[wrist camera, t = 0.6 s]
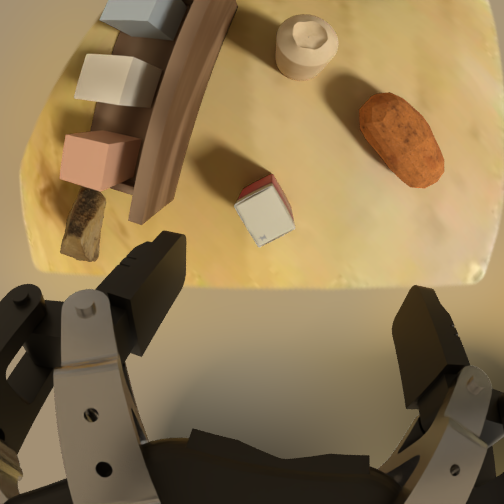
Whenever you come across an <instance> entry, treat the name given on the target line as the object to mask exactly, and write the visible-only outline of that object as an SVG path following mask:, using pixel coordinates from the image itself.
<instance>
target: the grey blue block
mask: <svg viewBox="0 0 504 504" xmlns="http://www.w3.org/2000/svg"><path fill="white" fill-rule="evenodd" d="M186 9H187V6H186V5H185V4H184V2H183V1H182V0H108V2H107V4H106V6H105V8H104V11H103V13H102V15H101V17H100V21H102V22H104V23H106V24H108V25H110V26H112V27H114V28H116V29H118V30H120V31H122V32H124V33H126V34H128V35H130V36H131V37H144V38H154V39H163V40H171V41H173V40H174V38H175V35H176V33H177V30H178V28H179V25H180V23H181V21H182V18H183V16H184V14H185V12H186Z"/></svg>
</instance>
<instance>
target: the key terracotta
mask: <svg viewBox="0 0 504 504" xmlns="http://www.w3.org/2000/svg"><path fill="white" fill-rule="evenodd" d="M141 141H142V139H139V138H135V137H131V136H127V135H122V134H118V133H113V132H109V131H104V130H100V131H91V132H82V133H74V134H67V135H66V137H65V143H64V149H63V155H62V162H61V170H60V179H62V180H65V181H68V182H71V183H75V184H78V185H81V186H84V187H87V188H91V189H94V190H97V191H100V192H101V191H103V190H105V189H108V188H110V187H112V186H114V185H117V184H119V183H121V182H123V181H126V180H128V179H130V178H133V176H134V171H135V167H136V162H137V158H138V153H139V149H140V145H141Z"/></svg>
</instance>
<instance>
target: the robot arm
mask: <svg viewBox="0 0 504 504" xmlns="http://www.w3.org/2000/svg"><path fill="white" fill-rule="evenodd" d="M185 276H186V236H185V235H184V234H179V233H174V232H169V231H162V232H161V233H160V234H159V235H158V236H157V237H156V239H155V240H154V241H153V242H148V241H147V242H145V243H143V244H141V245H139V246H137V247H135V248H134V249H133V250H132V251H131V252H130V253H129V254H128V255H127V257H126V258H124V259H123V260H122V261H121V262H120V265H117V266H116V267H115V269H114V270H113V271H112V272H111V273H110V274H109V275H108V276H107V277H106V278H105V279H104V280H103V281H102V283H101V284H100V285H99V286H98V287H97V288H96V289H95V290H93V289H86V290H81V291H78V292H75V293H74V294H72V295H70V296H69V297H68V298H67V299H66V300H65V302H61V301H49V300H44V298H43V295H42V293H41V290H40V289H39V288H38V287H37V286H35V285H33V284H24V285H21V286H18V287H16V288H14V289H12V290H11V291H10V292H9V293H8V294H7V295H6V296H5V297H4V298H3V299H2V300H1V301H0V504H504V472H503V473H502V474H501V475H500V476H497V477H496V472H495V462H494V455H493V447H492V445H493V444H494V443H496V442H497V441H498V440H500V439H501V438H502V437H504V393H503V392H500V391H497V390H494V389H492V386H491V382H490V380H489V378H488V376H487V375H486V374H485V373H484V372H483V371H482V370H481V369H479V368H478V367H475V366H470V363H469V361H468V358H467V355H466V353H465V350H464V347H463V345H462V342H461V340H460V337H458V333H457V330H456V328H454V323H453V321H452V319H451V316H450V315H449V313H448V312H447V311H446V310H445V309H444V307H443V306H442V305H441V304H440V302H439V299H438V297H437V295H436V293H435V291H434V290H433V289H431V288H426V287H422V286H417V285H414V286H412V287H411V289H410V291H409V292H408V294H407V296H406V298H405V300H404V302H403V304H402V306H401V307H400V309H399V311H398V313H397V315H396V317H395V319H394V321H393V326H392V335H393V340H394V344H395V349H396V354H397V359H398V364H399V369H400V375H401V380H402V386H403V392H404V398H405V405H406V409H419V413H420V414H419V415H418V416H416V417H415V419H414V420H413V422H412V423H411V425H410V427H409V428H408V430H407V431H406V433H405V435H404V436H403V438H402V439H401V441H400V443H399V444H398V446H397V447H396V448H395V450H394V452H393V453H392V454H391V456H390V457H389V458H388V459H387V460H386V462H385V463H383V464H382V466H380V467H379V468H378V469H376V468H373V467H370V466H369V455H368V456H367V455H340V454H326V455H319V456H312V457H304V458H296V459H281V458H278V457H275V456H273V455H270V454H268V453H266V452H263V451H261V450H259V449H256V448H254V447H252V446H249V445H247V444H245V443H243V442H241V441H239V440H235V439H231V438H226V437H223V436H219V435H214V434H211V433H207V432H204V431H200V430H197V429H192V432H191V435H190V437H189V438H166V439H160V440H155V441H150V442H149V440H148V437H147V434H146V431H145V429H144V426H143V423H142V421H141V418H140V415H139V411H138V408H137V405H136V401H135V398H134V394H133V390H132V386H131V382H130V378H129V375H128V370H127V366H126V362H125V361H126V359H127V357H128V355H129V354H130V353H132V354H135V355H138V356H141V357H142V356H143V354H144V352H145V350H146V348H147V347H148V345H149V343H150V342H151V340H152V338H153V336H154V335H155V333H156V331H157V329H158V327H159V326H160V324H161V323H162V321H163V319H164V318H165V316H166V314H167V313H168V311H169V309H170V308H171V306H172V304H173V302H174V301H175V299H176V297H177V296H178V294H179V293H180V291H181V289H182V287H183V284H184V281H185ZM22 346H23V347H24V348H25V350H26V353H25V354H24V356H23V357H22V358H21V360H20V361H19V363H18V364H17V366H16V367H15V369H14V370H13V372H12V373H11V375H10V376H9V378H8V379H7V380H6V370H7V367H8V365H9V364H10V362H11V361H12V359H13V358H14V357H15V355H16V354H17V352H18V351H19V349H20V348H21V347H22ZM53 386H54V397H55V409H56V418H57V427H58V434H59V441H60V447H61V452H62V458H63V463H64V468H65V472H66V477H67V478H66V479H63V480H60V481H58V482H55V483H52V484H50V485H47V486H44V487H41V488H38V489H35V490H32V491H29V492H26V493H22V494H20V493H19V490H18V481H20V480H21V479H22V477H23V472H22V469H21V468H20V463H19V459H18V456H17V454H18V452H19V450H20V448H21V446H22V444H23V442H24V439H25V438H26V436H27V434H28V432H29V430H30V428H31V426H32V424H33V422H34V420H35V418H36V416H37V415H38V413H39V411H40V409H41V407H42V406H43V404H44V402H45V400H46V398H47V397H48V395H49V393H50V391H51V390H52V388H53Z"/></svg>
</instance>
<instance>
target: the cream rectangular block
mask: <svg viewBox="0 0 504 504" xmlns="http://www.w3.org/2000/svg"><path fill="white" fill-rule="evenodd" d="M161 73H162V69H160V68H157V67H155V66H153V65H151V64H149V63H146V62H144V61H142V60H140V59H137V58H135V57H129V56H118V55H104V54H86V57H85V60H84V64H83V67H82V70H81V73H80V77H79V80H78V84H77V87H76V91H75V95H74V98H75V99H82V100H90V101H96V102H103V103H109V104H115V105H123V106H135V107H145V108H151V104H152V101H153V98H154V94H155V91H156V88H157V85H158V82H159V79H160V76H161Z"/></svg>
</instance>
